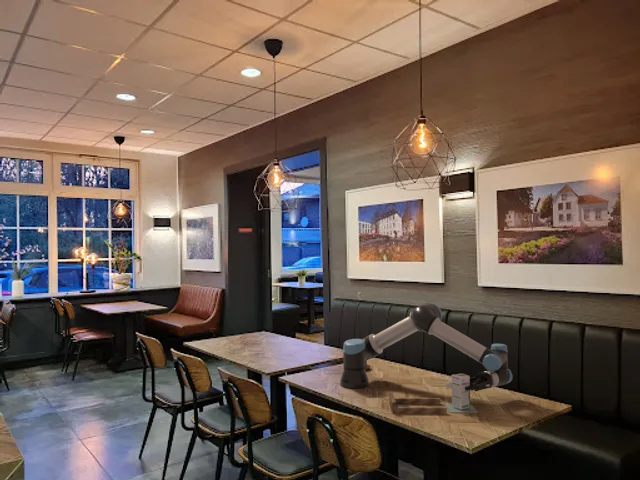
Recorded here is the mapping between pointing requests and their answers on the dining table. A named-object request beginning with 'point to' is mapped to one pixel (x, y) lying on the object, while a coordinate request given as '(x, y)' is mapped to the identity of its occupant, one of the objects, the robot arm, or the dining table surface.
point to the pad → (455, 410)
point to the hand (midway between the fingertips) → (453, 387)
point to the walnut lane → (403, 408)
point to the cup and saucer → (367, 366)
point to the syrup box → (461, 398)
